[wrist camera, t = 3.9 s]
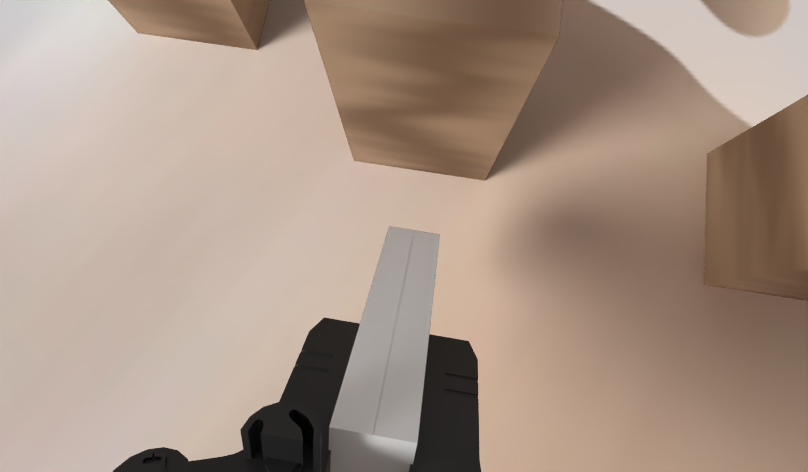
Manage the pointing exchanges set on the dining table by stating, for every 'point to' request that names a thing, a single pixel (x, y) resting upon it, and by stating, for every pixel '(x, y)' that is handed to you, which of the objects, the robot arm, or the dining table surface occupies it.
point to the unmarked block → (432, 76)
